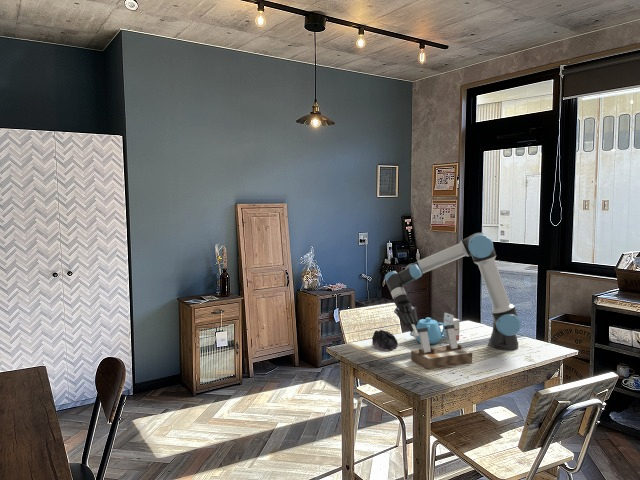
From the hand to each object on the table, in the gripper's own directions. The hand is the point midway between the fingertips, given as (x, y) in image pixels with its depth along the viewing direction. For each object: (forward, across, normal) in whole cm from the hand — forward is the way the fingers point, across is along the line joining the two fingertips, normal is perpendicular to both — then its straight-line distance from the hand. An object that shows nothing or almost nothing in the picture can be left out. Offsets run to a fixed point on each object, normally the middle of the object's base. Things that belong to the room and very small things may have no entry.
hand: (416, 336), depth 243 cm
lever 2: (+10, -16, +2) cm, 19 cm away
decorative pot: (-7, -21, -23) cm, 32 cm away
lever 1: (+10, 0, +2) cm, 10 cm away
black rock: (-7, +6, -23) cm, 25 cm away
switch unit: (+14, -8, -1) cm, 17 cm away
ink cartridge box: (-7, -37, -23) cm, 45 cm away
